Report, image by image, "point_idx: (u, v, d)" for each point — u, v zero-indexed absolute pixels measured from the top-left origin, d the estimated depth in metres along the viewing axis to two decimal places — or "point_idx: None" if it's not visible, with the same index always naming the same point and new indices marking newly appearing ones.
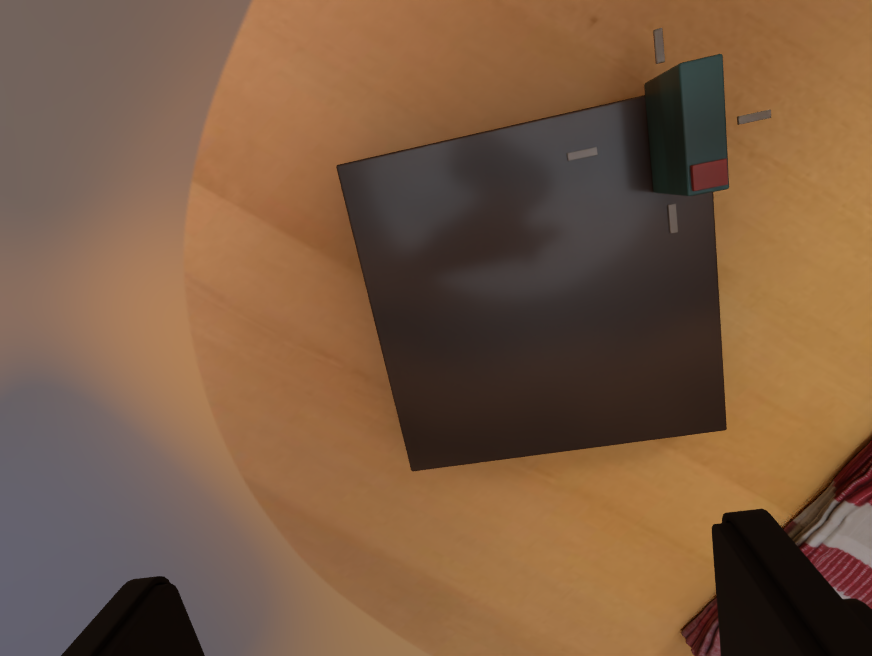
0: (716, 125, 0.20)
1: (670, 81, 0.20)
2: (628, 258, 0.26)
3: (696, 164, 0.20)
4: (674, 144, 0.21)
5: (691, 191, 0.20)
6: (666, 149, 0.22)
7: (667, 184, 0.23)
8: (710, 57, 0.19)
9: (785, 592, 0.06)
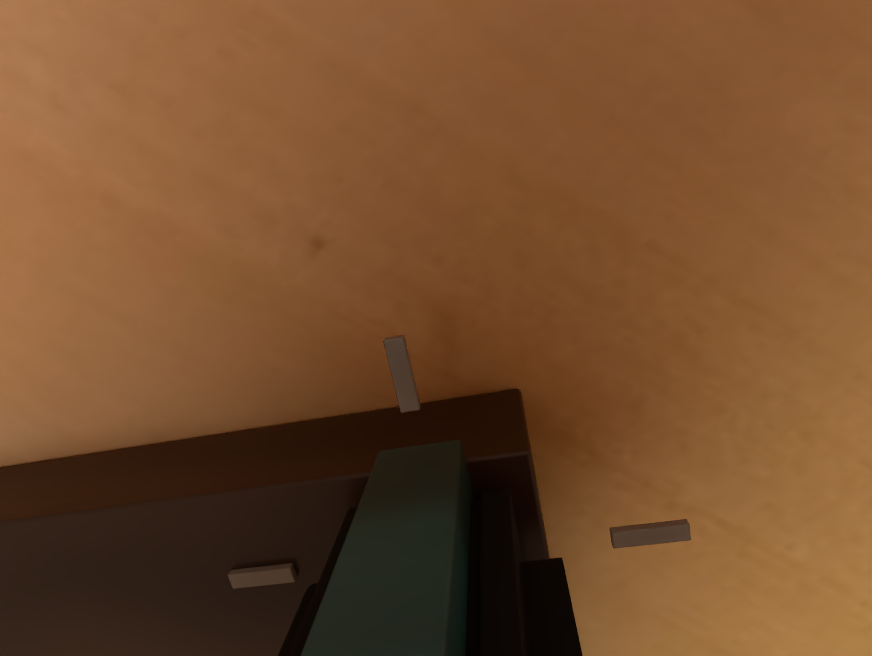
0: None
1: None
2: None
3: None
4: None
5: None
6: None
7: None
8: None
9: (481, 549, 0.08)
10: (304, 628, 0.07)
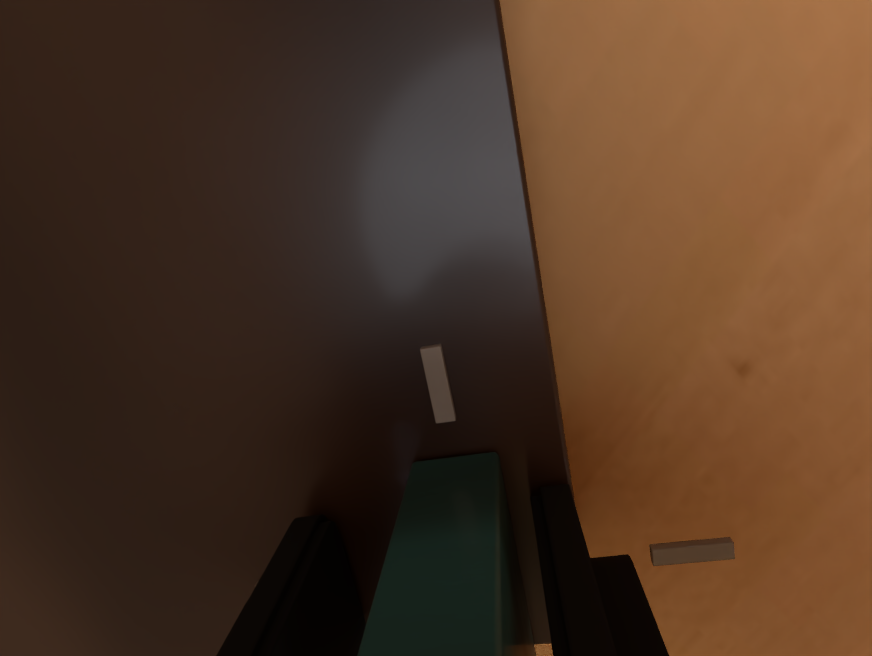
0: None
1: None
2: (188, 498, 0.10)
3: None
4: None
5: None
6: None
7: None
8: None
9: (551, 545, 0.08)
10: (230, 640, 0.07)
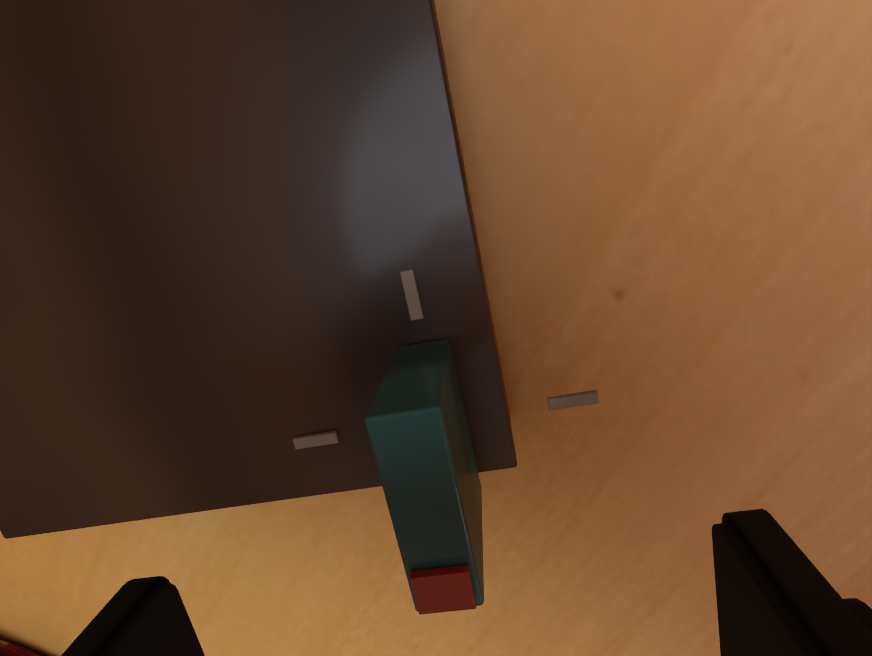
0: (446, 515, 0.11)
1: None
2: (247, 379, 0.15)
3: (422, 569, 0.11)
4: None
5: None
6: None
7: None
8: (418, 412, 0.10)
9: (785, 592, 0.06)
10: None
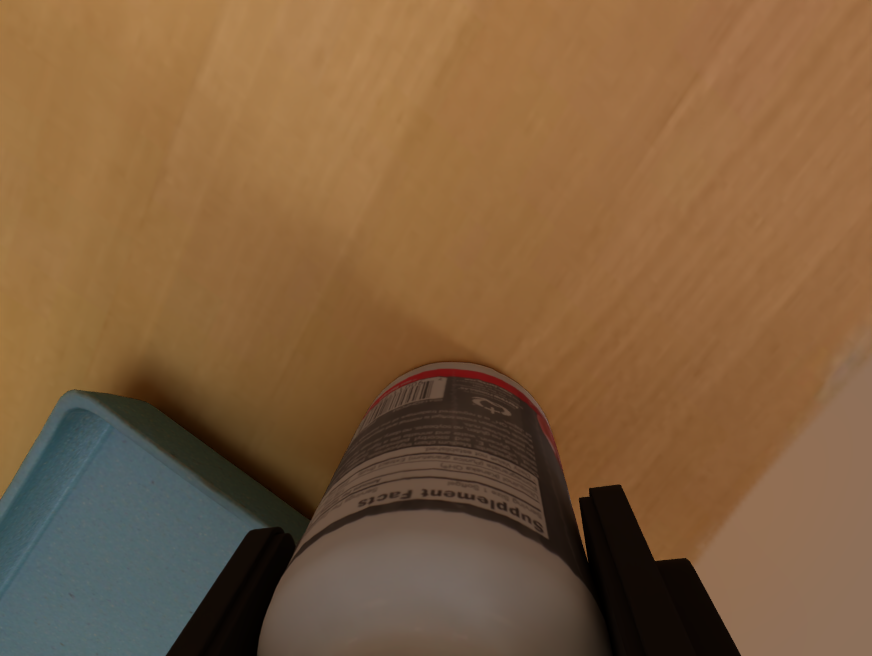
0: None
1: None
2: None
3: None
4: None
5: None
6: None
7: None
8: None
9: (611, 549, 0.07)
10: None
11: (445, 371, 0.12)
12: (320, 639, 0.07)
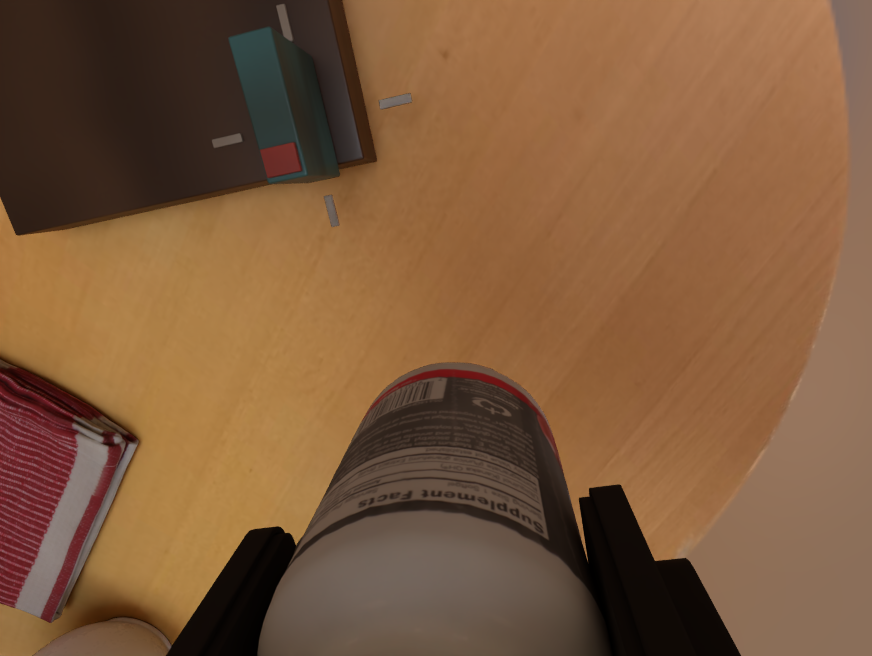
0: (279, 105, 0.18)
1: None
2: (180, 95, 0.23)
3: (268, 148, 0.18)
4: None
5: (269, 178, 0.19)
6: None
7: None
8: (258, 30, 0.17)
9: (610, 549, 0.07)
10: None
11: (445, 371, 0.12)
12: (320, 640, 0.07)
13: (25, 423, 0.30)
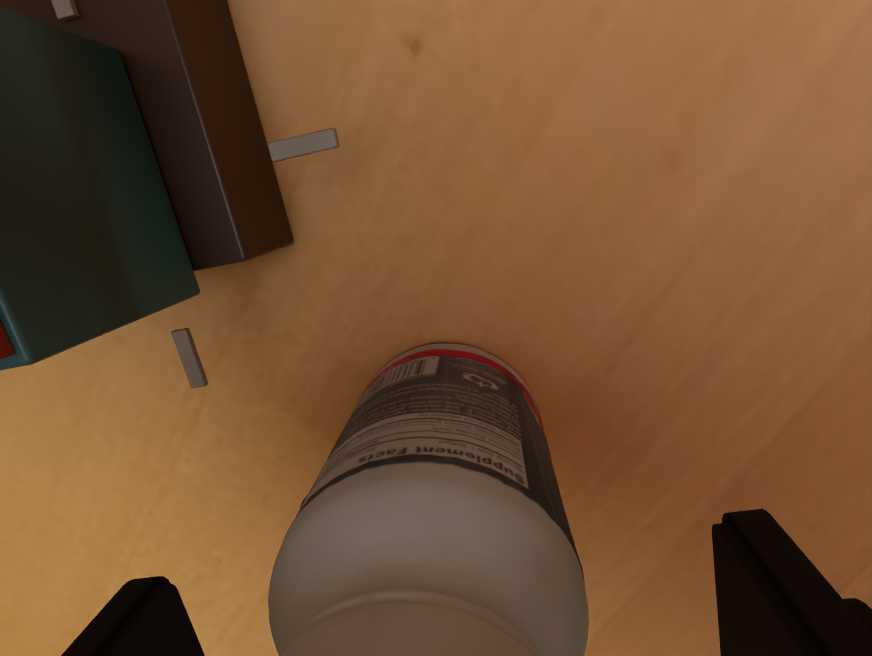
0: None
1: None
2: None
3: None
4: None
5: None
6: None
7: None
8: None
9: (785, 592, 0.06)
10: None
11: (438, 351, 0.13)
12: (326, 573, 0.07)
13: None
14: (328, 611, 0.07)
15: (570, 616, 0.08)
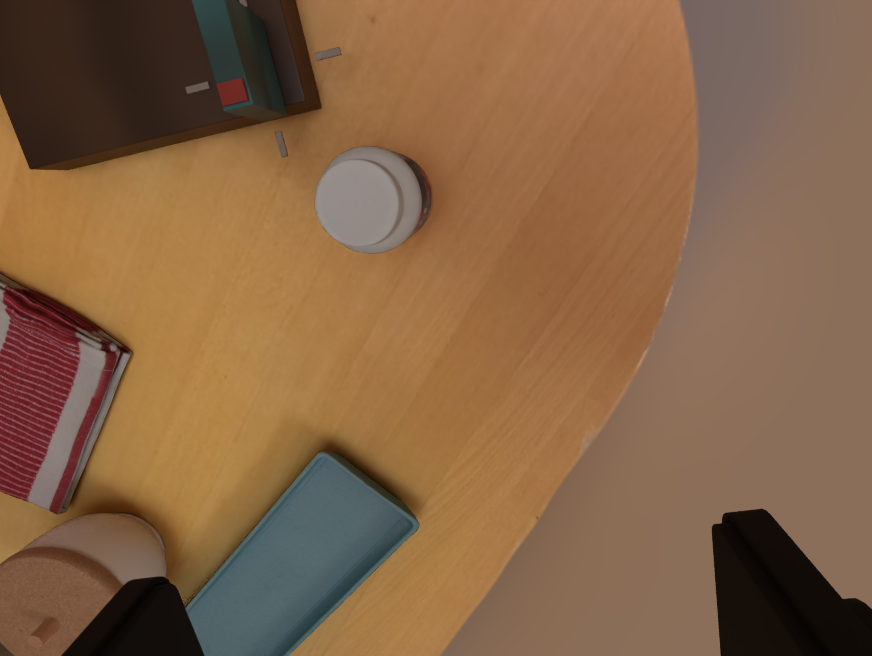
0: (230, 50, 0.24)
1: None
2: (160, 51, 0.29)
3: (223, 84, 0.24)
4: None
5: (224, 107, 0.25)
6: None
7: None
8: None
9: (785, 592, 0.06)
10: None
11: None
12: None
13: (36, 334, 0.36)
14: None
15: (410, 186, 0.25)
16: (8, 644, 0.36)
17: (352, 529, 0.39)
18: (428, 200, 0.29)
